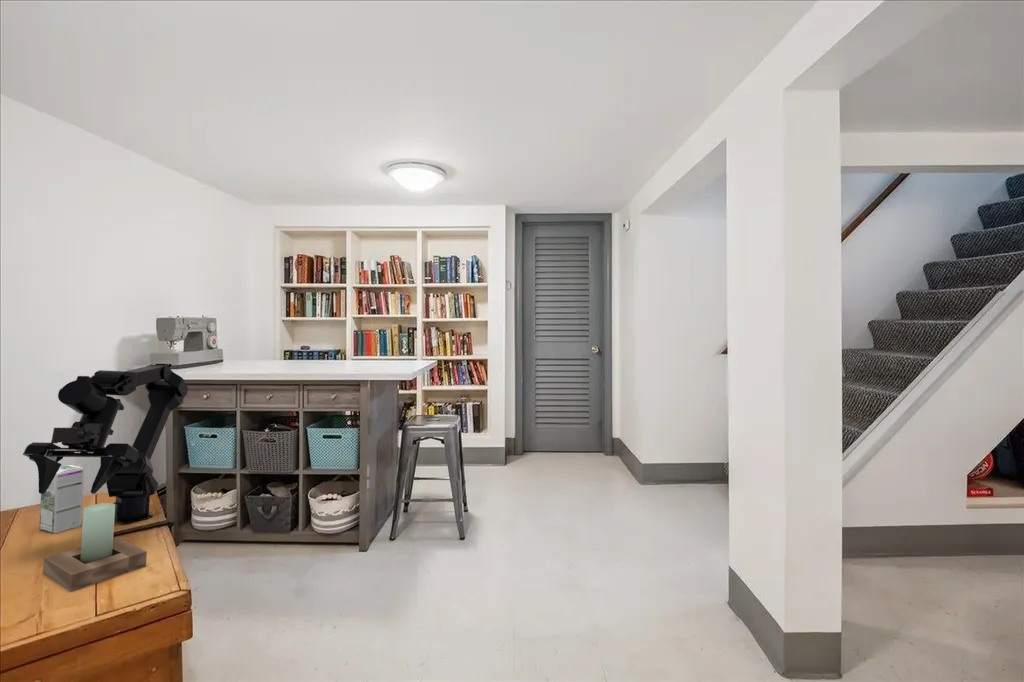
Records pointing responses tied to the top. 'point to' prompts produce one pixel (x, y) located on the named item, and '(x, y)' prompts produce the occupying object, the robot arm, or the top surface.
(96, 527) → the peg
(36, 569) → the top surface
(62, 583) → the pocket block
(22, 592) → the top surface
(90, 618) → the top surface
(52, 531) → the syrup box
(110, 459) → the robot arm
